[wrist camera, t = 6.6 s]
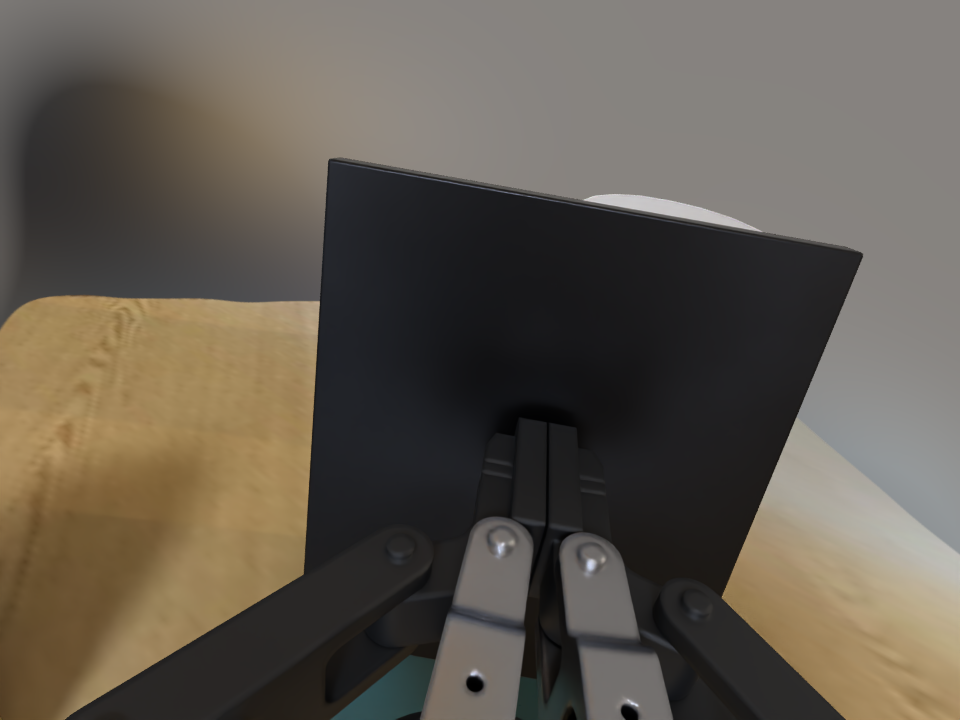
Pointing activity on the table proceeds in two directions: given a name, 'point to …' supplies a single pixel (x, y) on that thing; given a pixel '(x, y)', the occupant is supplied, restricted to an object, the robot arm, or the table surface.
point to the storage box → (418, 694)
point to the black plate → (556, 361)
